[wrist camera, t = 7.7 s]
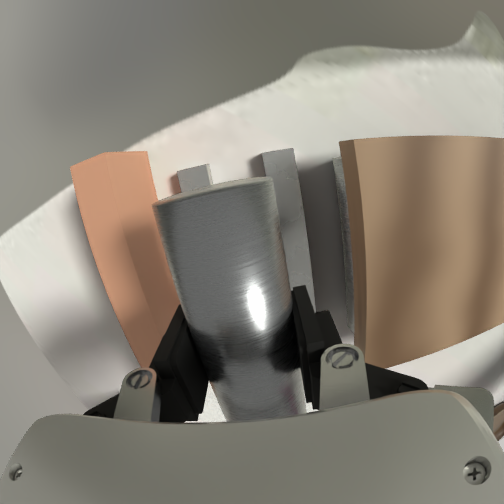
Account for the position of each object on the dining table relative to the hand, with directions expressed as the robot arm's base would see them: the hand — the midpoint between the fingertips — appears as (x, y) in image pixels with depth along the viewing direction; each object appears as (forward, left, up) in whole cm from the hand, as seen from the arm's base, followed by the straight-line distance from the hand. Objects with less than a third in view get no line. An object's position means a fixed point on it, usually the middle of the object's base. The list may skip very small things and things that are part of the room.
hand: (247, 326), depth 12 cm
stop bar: (+7, 0, -9) cm, 11 cm away
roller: (0, 0, -1) cm, 1 cm away
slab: (-16, 0, -5) cm, 17 cm away
